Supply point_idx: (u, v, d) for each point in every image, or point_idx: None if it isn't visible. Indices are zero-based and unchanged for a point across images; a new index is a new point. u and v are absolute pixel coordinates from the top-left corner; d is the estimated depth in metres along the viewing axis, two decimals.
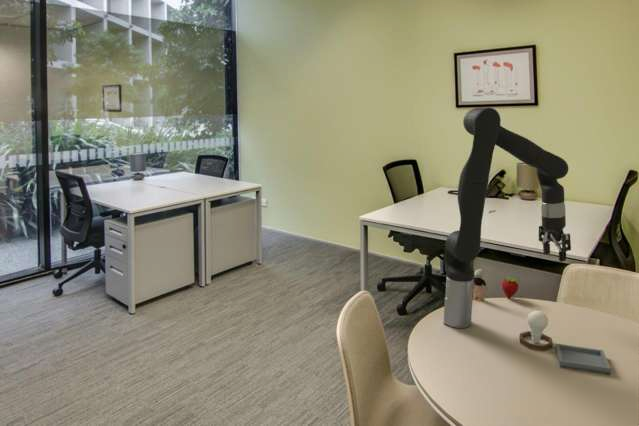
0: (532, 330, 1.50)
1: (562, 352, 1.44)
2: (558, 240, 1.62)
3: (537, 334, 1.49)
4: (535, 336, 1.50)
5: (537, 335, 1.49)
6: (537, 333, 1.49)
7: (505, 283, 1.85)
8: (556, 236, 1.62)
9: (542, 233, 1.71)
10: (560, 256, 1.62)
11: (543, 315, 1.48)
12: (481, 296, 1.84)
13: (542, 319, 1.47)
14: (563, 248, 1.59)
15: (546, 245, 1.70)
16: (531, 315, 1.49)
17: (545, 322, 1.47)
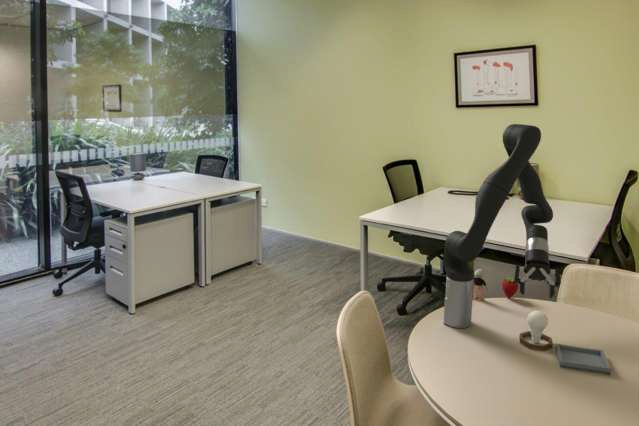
0: (532, 330, 1.50)
1: (562, 352, 1.44)
2: None
3: (537, 334, 1.49)
4: (535, 336, 1.50)
5: (537, 335, 1.49)
6: (537, 333, 1.49)
7: (505, 283, 1.85)
8: (546, 271, 1.59)
9: (518, 273, 1.62)
10: (552, 290, 1.55)
11: (543, 315, 1.48)
12: (481, 296, 1.84)
13: (542, 319, 1.47)
14: (558, 281, 1.56)
15: None
16: (531, 315, 1.49)
17: (545, 322, 1.47)
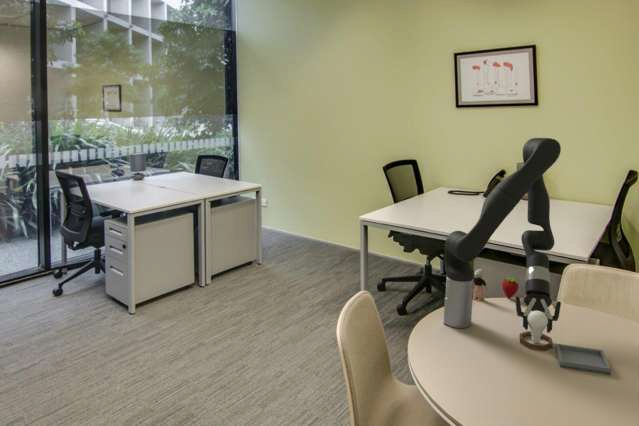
0: (532, 330, 1.50)
1: (562, 352, 1.44)
2: None
3: (537, 334, 1.49)
4: (535, 336, 1.50)
5: (537, 335, 1.49)
6: (537, 333, 1.49)
7: (505, 283, 1.85)
8: (547, 303, 1.52)
9: None
10: (549, 325, 1.48)
11: (543, 315, 1.48)
12: (481, 296, 1.84)
13: (542, 319, 1.47)
14: (556, 315, 1.49)
15: None
16: (531, 315, 1.49)
17: (545, 322, 1.47)
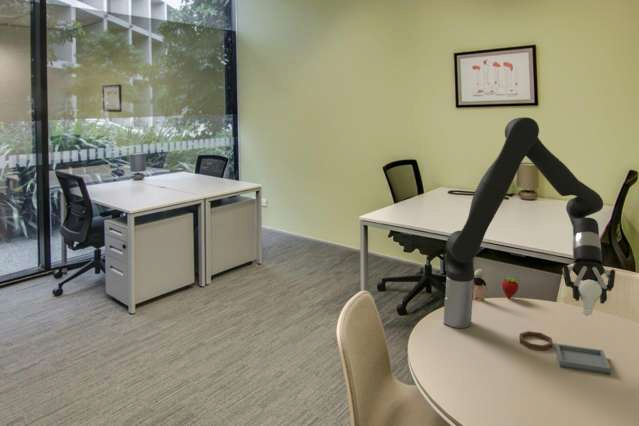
0: (583, 301, 1.36)
1: (562, 352, 1.44)
2: None
3: (589, 305, 1.35)
4: (587, 308, 1.36)
5: (589, 306, 1.35)
6: (589, 304, 1.35)
7: (505, 283, 1.85)
8: (600, 272, 1.37)
9: None
10: (603, 295, 1.34)
11: (596, 284, 1.33)
12: (481, 296, 1.84)
13: (596, 289, 1.33)
14: (611, 284, 1.34)
15: None
16: (582, 284, 1.35)
17: (599, 291, 1.33)
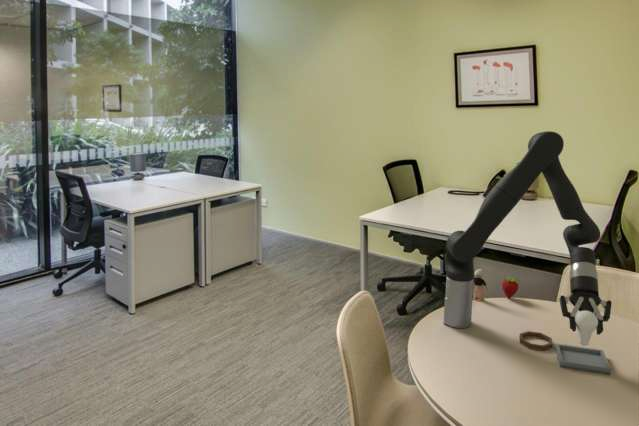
0: (580, 332, 1.38)
1: (562, 352, 1.44)
2: None
3: (586, 336, 1.37)
4: (584, 338, 1.37)
5: (586, 337, 1.37)
6: (586, 335, 1.37)
7: (505, 283, 1.85)
8: (596, 302, 1.39)
9: None
10: (600, 326, 1.35)
11: (593, 315, 1.35)
12: (481, 296, 1.84)
13: (592, 320, 1.35)
14: (607, 315, 1.36)
15: None
16: (579, 315, 1.37)
17: (595, 323, 1.35)
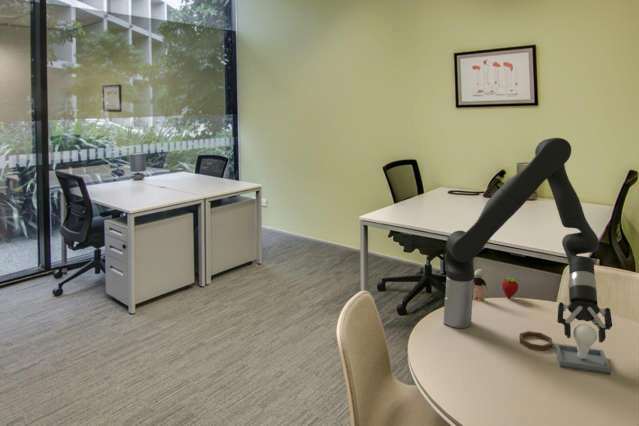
0: (579, 345, 1.39)
1: (562, 352, 1.44)
2: None
3: (585, 350, 1.38)
4: (582, 352, 1.38)
5: (585, 351, 1.38)
6: (585, 349, 1.38)
7: (505, 283, 1.85)
8: (595, 311, 1.40)
9: (562, 312, 1.43)
10: (602, 334, 1.36)
11: (592, 329, 1.36)
12: (481, 296, 1.84)
13: (591, 334, 1.36)
14: (610, 323, 1.37)
15: (569, 326, 1.40)
16: (578, 329, 1.38)
17: (594, 337, 1.36)
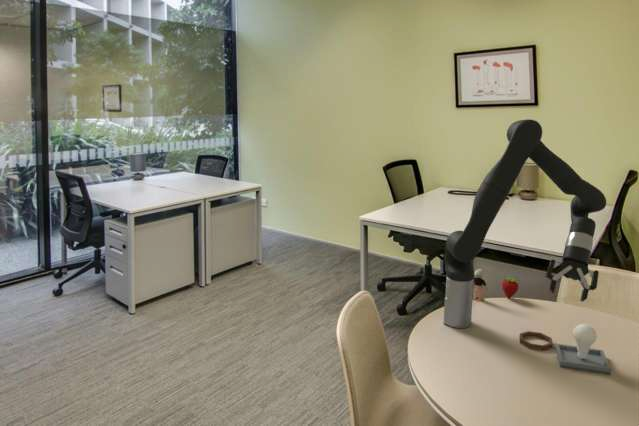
0: (579, 345, 1.39)
1: (562, 352, 1.44)
2: None
3: (585, 350, 1.38)
4: (582, 352, 1.38)
5: (584, 351, 1.38)
6: (585, 349, 1.38)
7: (505, 283, 1.85)
8: (583, 272, 1.46)
9: (552, 268, 1.50)
10: (584, 294, 1.44)
11: (591, 329, 1.36)
12: (481, 296, 1.84)
13: (591, 334, 1.36)
14: (594, 285, 1.44)
15: (555, 282, 1.48)
16: (578, 329, 1.38)
17: (594, 337, 1.36)
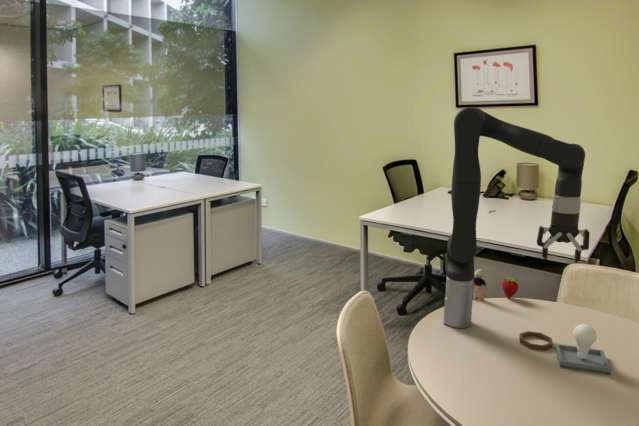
0: (579, 345, 1.39)
1: (562, 352, 1.44)
2: None
3: (585, 350, 1.38)
4: (582, 352, 1.38)
5: (585, 351, 1.38)
6: (585, 349, 1.38)
7: (505, 283, 1.85)
8: (574, 234, 1.42)
9: (542, 236, 1.45)
10: (577, 256, 1.43)
11: (592, 329, 1.36)
12: (481, 296, 1.84)
13: (591, 334, 1.36)
14: (586, 246, 1.41)
15: (547, 249, 1.46)
16: (578, 329, 1.38)
17: (594, 337, 1.36)
